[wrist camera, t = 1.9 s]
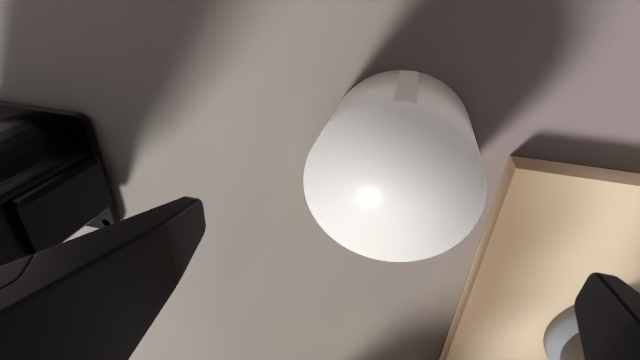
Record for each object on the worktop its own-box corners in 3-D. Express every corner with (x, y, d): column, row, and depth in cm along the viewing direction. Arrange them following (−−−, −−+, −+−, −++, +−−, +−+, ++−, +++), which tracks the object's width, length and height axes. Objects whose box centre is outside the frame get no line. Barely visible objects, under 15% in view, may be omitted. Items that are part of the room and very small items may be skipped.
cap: (327, 186, 16) (301, 245, 12) (335, 60, 13) (305, 92, 10) (452, 207, 15) (460, 277, 12) (489, 76, 12) (514, 117, 9)
